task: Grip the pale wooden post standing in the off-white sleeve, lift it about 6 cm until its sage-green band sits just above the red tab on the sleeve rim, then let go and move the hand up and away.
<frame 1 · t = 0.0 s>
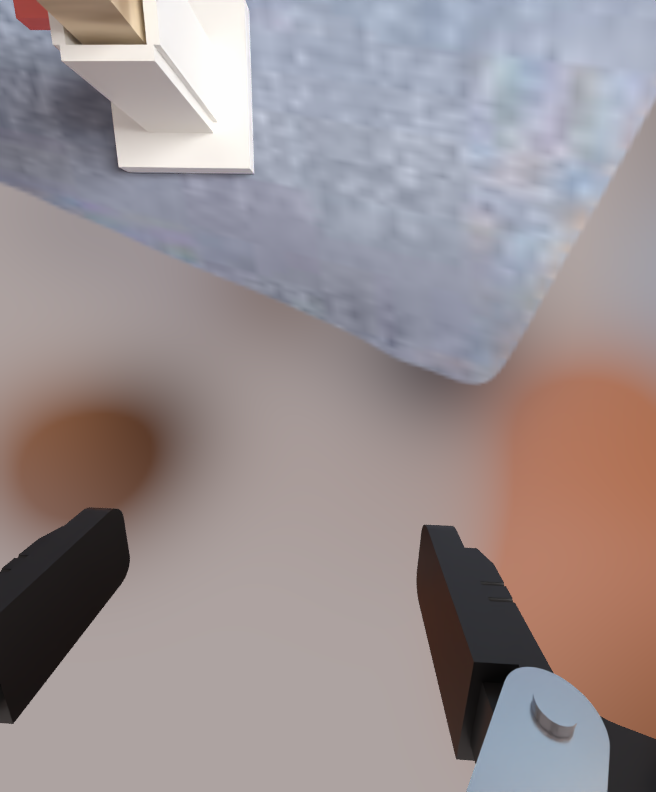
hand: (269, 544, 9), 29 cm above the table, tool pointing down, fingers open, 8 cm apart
sleeve stand: (185, 96, 32), on the table
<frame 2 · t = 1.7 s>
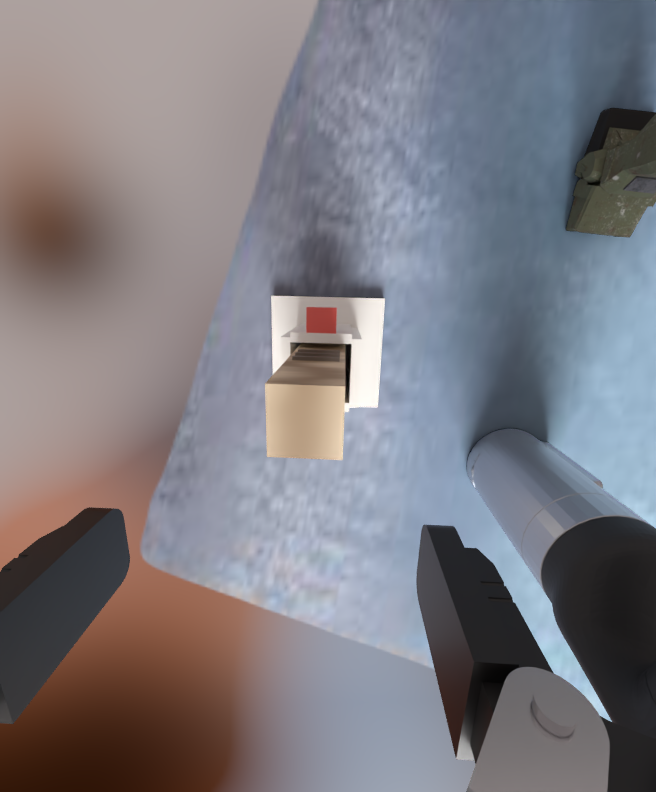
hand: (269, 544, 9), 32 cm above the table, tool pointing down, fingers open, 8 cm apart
sleeve stand: (327, 351, 41), on the table
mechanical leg: (604, 188, 35), on the table
post: (319, 375, 29), point 13 cm above the table, slide at 0.0 cm
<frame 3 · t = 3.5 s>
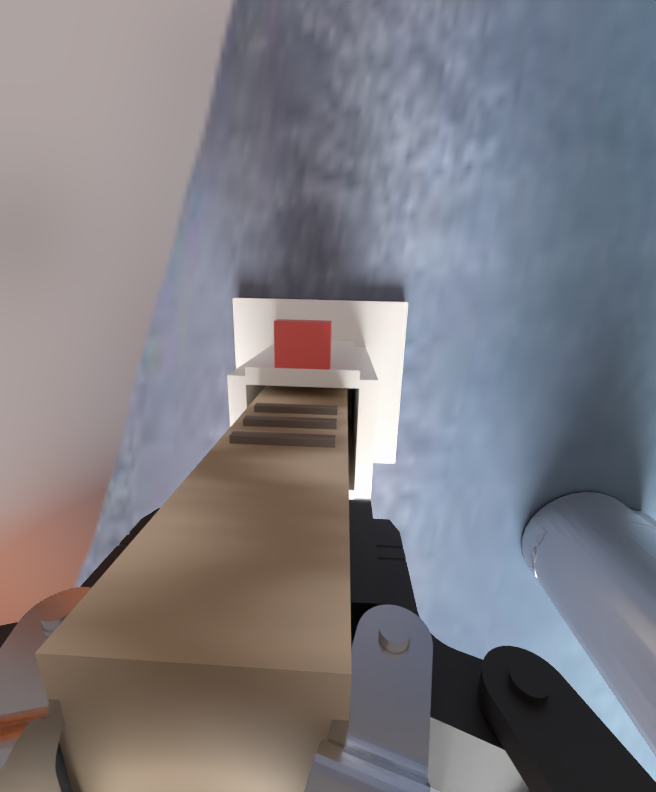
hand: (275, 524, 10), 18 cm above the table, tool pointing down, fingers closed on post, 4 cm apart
sleeve stand: (319, 380, 27), on the table
post: (299, 447, 15), point 13 cm above the table, slide at 0.0 cm, touching gripper
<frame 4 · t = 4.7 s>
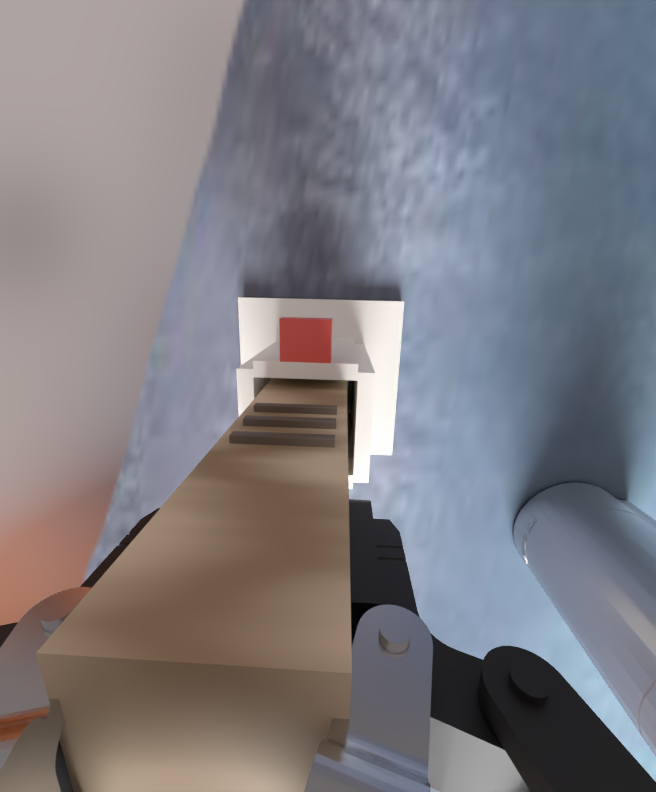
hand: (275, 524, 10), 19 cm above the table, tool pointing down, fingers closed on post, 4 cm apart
sleeve stand: (320, 376, 29), on the table
post: (298, 447, 15), point 14 cm above the table, slide at 1.4 cm, touching gripper
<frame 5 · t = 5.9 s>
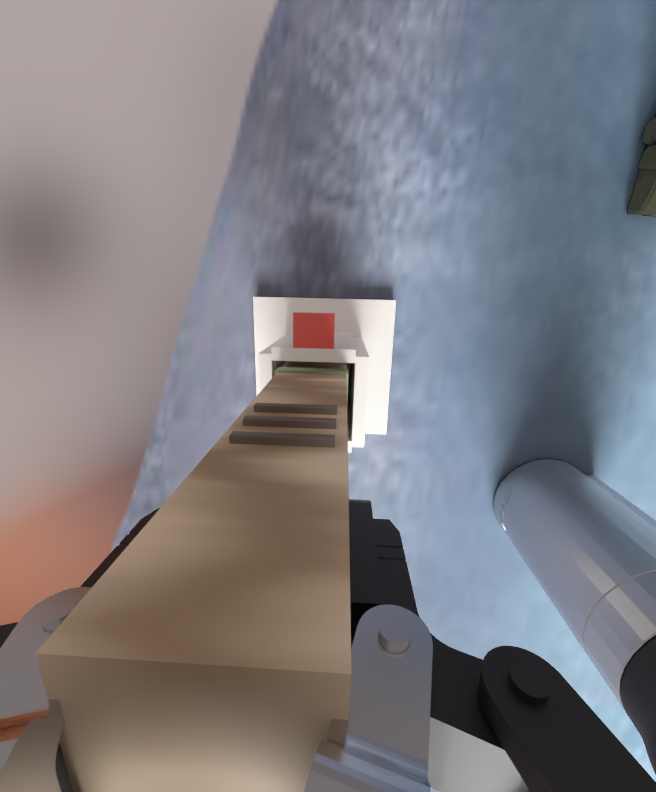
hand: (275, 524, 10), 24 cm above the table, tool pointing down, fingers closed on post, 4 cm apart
sleeve stand: (323, 365, 33), on the table
post: (298, 447, 15), point 18 cm above the table, slide at 5.8 cm, touching gripper
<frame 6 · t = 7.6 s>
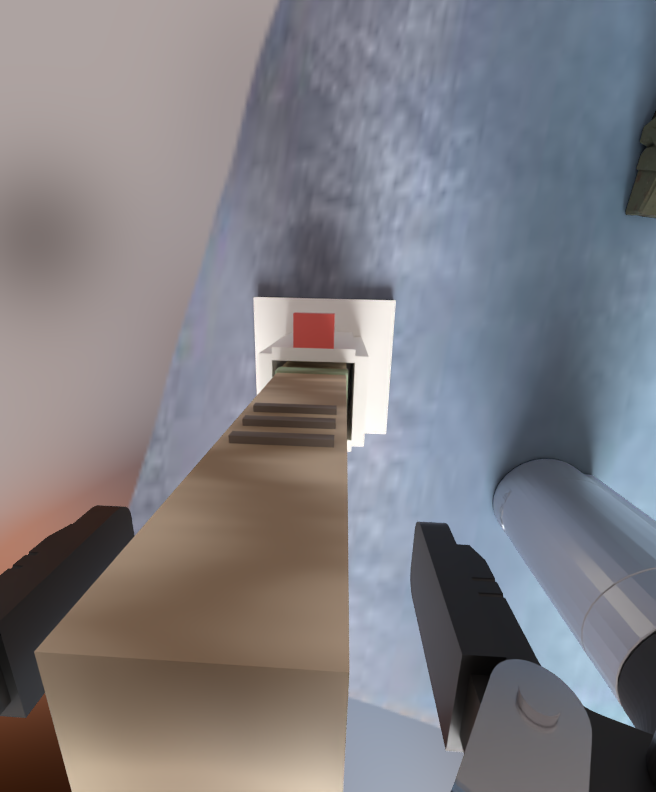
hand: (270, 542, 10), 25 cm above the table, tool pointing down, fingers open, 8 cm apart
sleeve stand: (323, 365, 33), on the table
post: (298, 447, 15), point 19 cm above the table, slide at 6.0 cm
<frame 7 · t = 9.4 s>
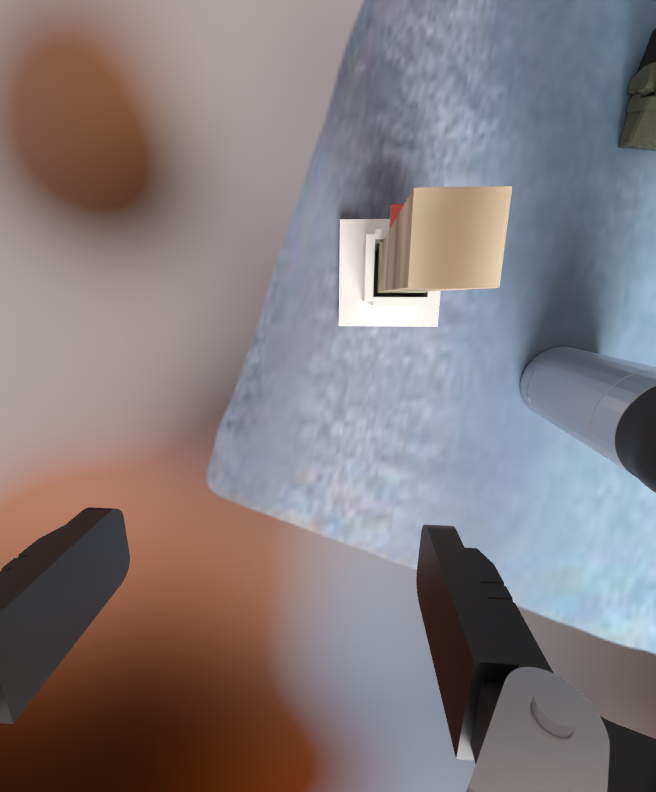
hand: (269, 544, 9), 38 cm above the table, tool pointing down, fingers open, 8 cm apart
sleeve stand: (388, 275, 43), on the table
post: (415, 260, 26), point 19 cm above the table, slide at 6.0 cm
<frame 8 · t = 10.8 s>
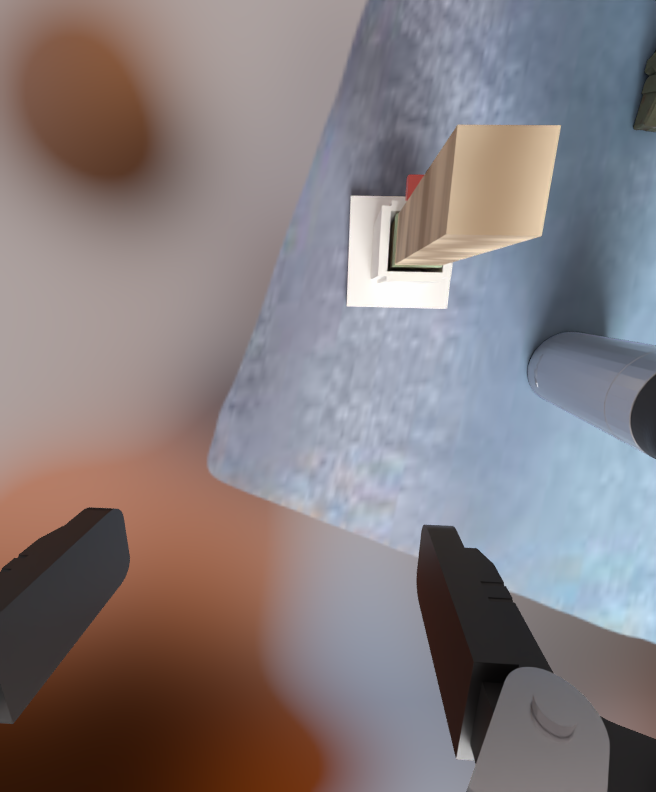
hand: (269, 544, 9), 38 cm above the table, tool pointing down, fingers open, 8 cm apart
sleeve stand: (398, 255, 43), on the table
post: (436, 227, 25), point 19 cm above the table, slide at 6.0 cm
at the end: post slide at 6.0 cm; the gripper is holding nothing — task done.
